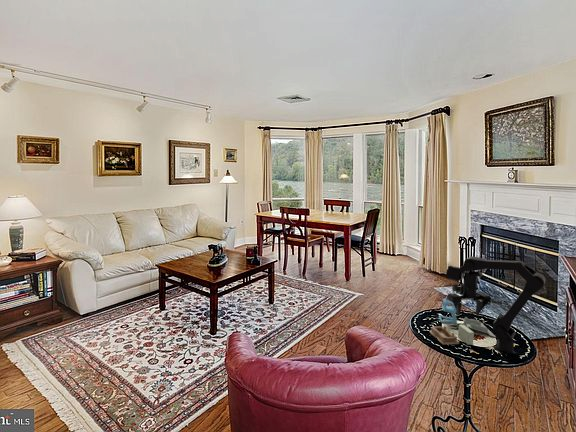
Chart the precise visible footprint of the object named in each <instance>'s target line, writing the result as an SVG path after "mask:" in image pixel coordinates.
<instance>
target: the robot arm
mask: <svg viewBox="0 0 576 432" xmlns="http://www.w3.org/2000/svg"><path fill="white" fill-rule="evenodd" d="M482 270H498V271H499V270H500V271H501V270H502V271H515V272H517V274H519V276H520V277H521V278H522V279H523V280H524V281H525V282H526V283H525V284H524V287H523V289H522V291H521V293H520V294H519V295H518V297H516V299H515V300H514V302H513V303H512V305H511V306H510V307H509V309H508V310H507V311H506V313H504V314H502V313H499V315H498V316H497V318H495V320H494V321H493V322H492V325H493V326H492V330H493V332H494V333H495V334H496V343H495V344H496V345H493V349H495V350H497V351H498V352H499V353H500V354H502V355H516V354H517V352H516V351H514V347H515V346H514V345H515V340H514V337H515V335H516V331H515V330H514V329H513V328H512V324H513V322H514V320H515V319H516V317H517V316H518V315H519V313H520V312H521V311H522V309H524V307H525V305H526V304H527V303H528V302H529V300H530V298H531V297H533V296H534V295H535V294H536V293H538V292H539V291H540V290H541V289H542V288H543V287H544V286H545V283H546V277H545V276H544V274H542V273H540V272H537V271H536V270H534V269H533V268H532V267H530V266H529V265H527V264H526V263H525V262H523V261H522V260H501V259H499V260H497V259H486V258H482V257H478V256H469V257H467V258H466V259H465V260H464V261H463V265H461V266H460V267H459V266H453V265H448V266H447V270H446V272H445V278H446V280H451V281H455V282H460V281H462V280H463V282H462V283H461V284H460V286H459V284H452V291H453V292H454V293H453V292H452V293H448V294H447V295H446V298H447V299H448V300H447V301H449V300H450V302H452V303H453V304H454V307H455V309H456V312H457V313H456V316H457V317H458V316H460V315H461V311H462V301H470V300H471V301H475V302H476V304H475V305H476V307H475V316H479V314H480V313H481V312H482V311H483V309H484V308H485V307H486V306H487V305H489V303H490V304H491V302H492V297H491V296H490V295H488V294H487V293H485V292H477V290H479V286H477V285H478V277H483V275H484V274H483V273H482V272H481V271H482Z"/></svg>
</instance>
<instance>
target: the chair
mask: <svg viewBox="0 0 576 432" xmlns="http://www.w3.org/2000/svg"><path fill="white" fill-rule="evenodd" d="M441 309H442V311H443V312H447V313H450V315H451V317H450V316H449V317H448V316H445V315H438V319H439V320H440V323H441V324H447V323H448V324H451V323H452V324H453V323H458V320H457V312H456V309H455V306H454V304H453V303H452V302H451V301H450V300H448V299H447V297H446V298H442V304H441ZM443 319H445V320H443Z"/></svg>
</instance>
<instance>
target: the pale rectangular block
mask: <svg viewBox="0 0 576 432" xmlns="http://www.w3.org/2000/svg"><path fill="white" fill-rule="evenodd" d="M457 332H458V334H457V338H459V339H461V340H462V341H463V342H464V343H466V345H467V346H469V345H474V338H475V332H474V331H473V330H471V328H470V327H468V326H467V327H466V326H465V325H463V324H459V325H458V331H457Z"/></svg>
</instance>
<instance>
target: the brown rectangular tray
mask: <svg viewBox="0 0 576 432" xmlns="http://www.w3.org/2000/svg"><path fill="white" fill-rule="evenodd" d="M446 327H447V326H446V325H444V326H439V325H438V326H437V325H436V326H432V327H431V329H430V330H429V333H430V334H431V335H432V336H433V337H434V338H435V339H436V338H437V339H436V340H437V341H439V343H441V344H442V345H459V344H460V341H459V340H458V336H456V335H455V333H454V332H451V331H450V330H449V329H448V328H446Z"/></svg>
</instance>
